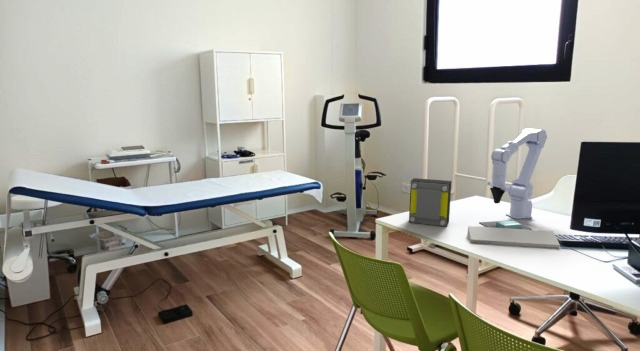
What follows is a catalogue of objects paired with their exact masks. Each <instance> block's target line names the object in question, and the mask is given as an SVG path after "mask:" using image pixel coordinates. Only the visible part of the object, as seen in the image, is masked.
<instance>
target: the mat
mask: <svg viewBox="0 0 640 351" xmlns="http://www.w3.org/2000/svg"><path fill="white" fill-rule="evenodd" d="M500 221H501V220H497V221H496V220H495V221H494V220H493V221H481V222H478V223H479V224H480V225H482V226H483V227H493V228H500V227H498V226H496V222H500ZM506 221H515V219H511V220H510V219H509V220H506ZM521 224H522V228H519V229H527V230H533V228H531V227H529V226H527V225H524V224H523V223H521Z"/></svg>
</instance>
